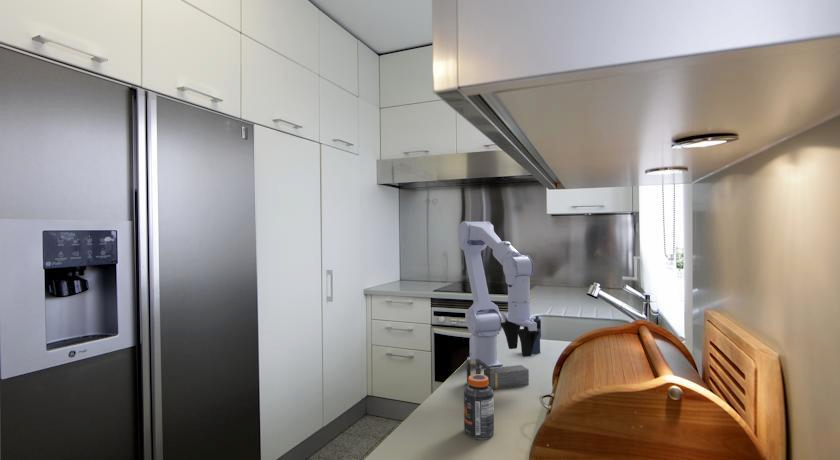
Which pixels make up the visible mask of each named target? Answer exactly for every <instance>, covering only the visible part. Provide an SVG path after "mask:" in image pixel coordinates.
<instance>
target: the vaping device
mask: <svg viewBox="0 0 840 460" xmlns="http://www.w3.org/2000/svg"><path fill="white" fill-rule="evenodd" d="M533 321H534V322H536V323H537V329H538V330H540V333H539V335H538V336H537V338H536V340H535V343H534V346H533V350H532V354H541V337H542V319H541V318H540V317H539V315H535V317H534V320H533Z"/></svg>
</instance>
